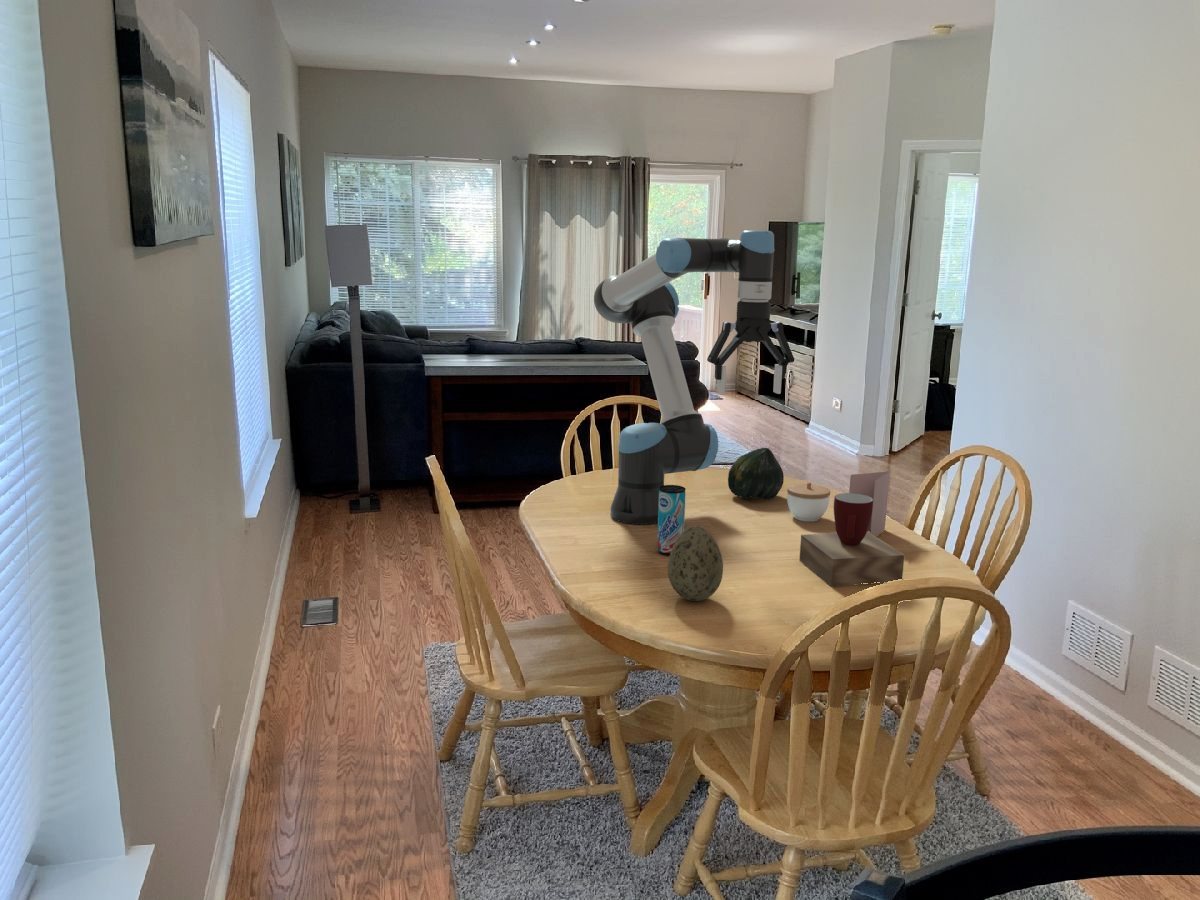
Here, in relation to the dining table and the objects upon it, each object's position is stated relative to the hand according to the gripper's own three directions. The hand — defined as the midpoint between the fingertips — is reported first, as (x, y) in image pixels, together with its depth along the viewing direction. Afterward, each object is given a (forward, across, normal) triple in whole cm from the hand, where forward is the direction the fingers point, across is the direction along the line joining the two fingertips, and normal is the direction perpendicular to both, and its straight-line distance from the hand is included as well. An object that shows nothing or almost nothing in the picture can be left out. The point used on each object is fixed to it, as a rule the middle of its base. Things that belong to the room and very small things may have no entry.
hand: (749, 393), depth 215 cm
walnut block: (+35, +15, -26) cm, 46 cm away
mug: (+29, +15, -26) cm, 42 cm away
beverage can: (+35, -20, -8) cm, 41 cm away
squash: (+35, +16, +33) cm, 51 cm away
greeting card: (+35, +32, -4) cm, 48 cm away
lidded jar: (+35, +22, +12) cm, 43 cm away
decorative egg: (+35, -23, -36) cm, 55 cm away
